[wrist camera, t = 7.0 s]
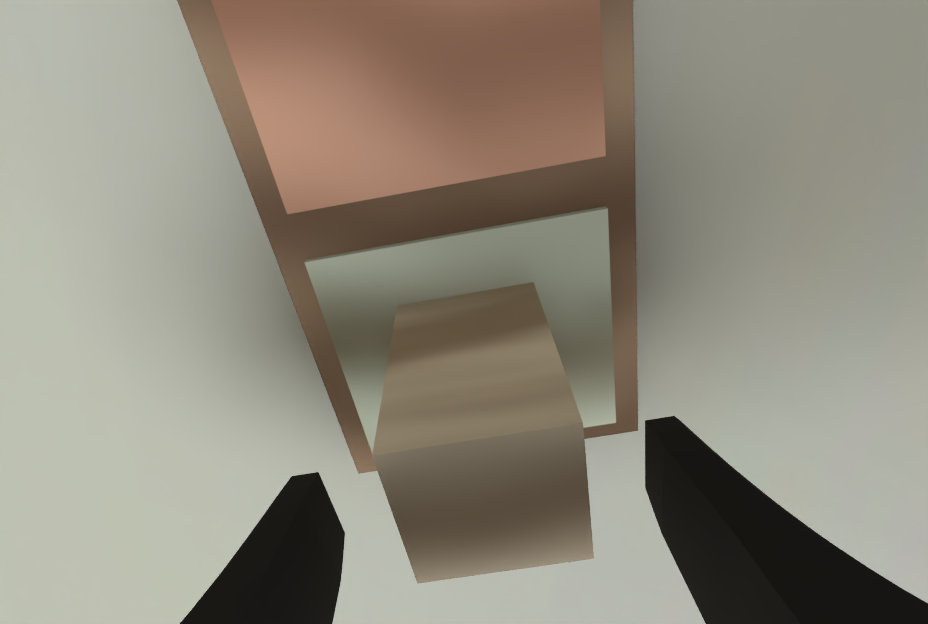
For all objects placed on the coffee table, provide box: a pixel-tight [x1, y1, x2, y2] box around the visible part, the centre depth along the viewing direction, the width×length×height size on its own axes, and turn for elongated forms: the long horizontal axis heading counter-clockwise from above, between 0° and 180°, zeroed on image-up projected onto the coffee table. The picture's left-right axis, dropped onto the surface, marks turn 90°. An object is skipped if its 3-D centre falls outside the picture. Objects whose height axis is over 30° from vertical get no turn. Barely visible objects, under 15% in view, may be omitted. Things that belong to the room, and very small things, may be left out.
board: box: [177, 0, 638, 473], centre depth 14 cm, size 18×10×1 cm, turn 10°
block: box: [372, 282, 594, 583], centre depth 13 cm, size 4×4×6 cm
